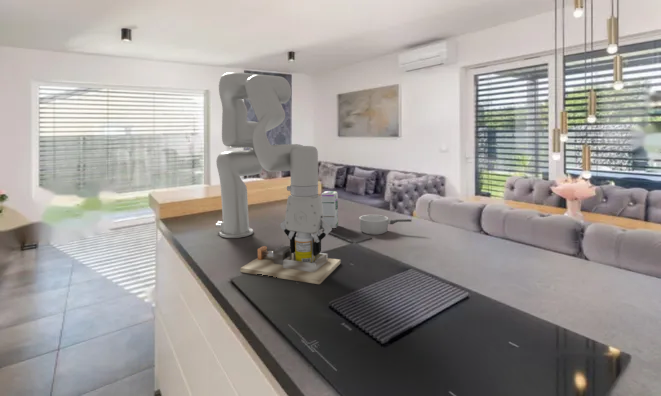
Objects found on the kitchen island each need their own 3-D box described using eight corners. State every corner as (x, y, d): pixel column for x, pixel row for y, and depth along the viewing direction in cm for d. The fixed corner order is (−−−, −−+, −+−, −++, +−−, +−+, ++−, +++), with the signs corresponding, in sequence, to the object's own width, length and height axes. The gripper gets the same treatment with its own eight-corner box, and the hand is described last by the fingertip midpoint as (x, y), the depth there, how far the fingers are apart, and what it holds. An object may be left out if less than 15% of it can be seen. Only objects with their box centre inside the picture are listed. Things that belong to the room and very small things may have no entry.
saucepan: (411, 238, 135) (411, 223, 134) (357, 235, 139) (357, 220, 138) (410, 229, 146) (411, 216, 145) (360, 227, 150) (361, 214, 149)
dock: (240, 271, 103) (239, 254, 102) (269, 254, 118) (269, 239, 117) (319, 284, 95) (319, 265, 94) (340, 263, 109) (340, 247, 108)
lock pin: (257, 259, 109) (257, 249, 109) (263, 256, 112) (263, 245, 112) (281, 262, 106) (281, 252, 106) (286, 259, 109) (286, 248, 109)
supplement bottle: (305, 259, 109) (304, 225, 108) (318, 263, 106) (318, 229, 104) (291, 264, 105) (290, 229, 103) (305, 268, 102) (304, 233, 100)
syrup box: (335, 229, 147) (335, 193, 144) (321, 228, 148) (321, 193, 146) (338, 225, 153) (338, 191, 150) (324, 224, 154) (324, 190, 151)
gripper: (270, 191, 101) (272, 253, 105) (328, 195, 95) (329, 261, 98) (283, 187, 108) (284, 245, 111) (338, 190, 102) (338, 252, 105)
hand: (305, 252), depth 105 cm, fingers open, 6 cm apart
